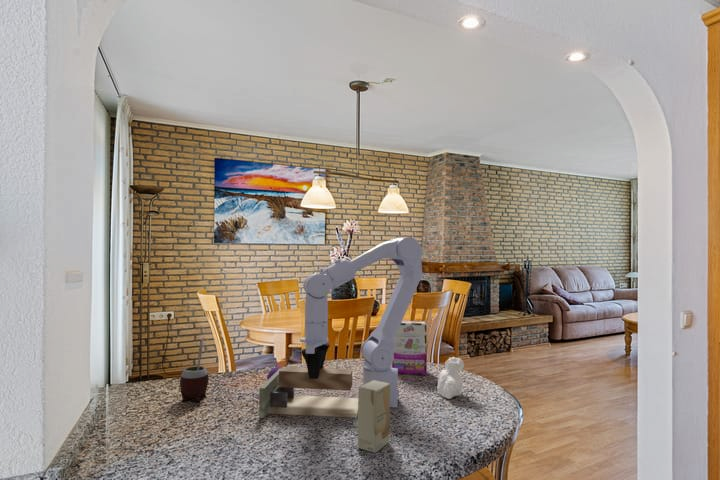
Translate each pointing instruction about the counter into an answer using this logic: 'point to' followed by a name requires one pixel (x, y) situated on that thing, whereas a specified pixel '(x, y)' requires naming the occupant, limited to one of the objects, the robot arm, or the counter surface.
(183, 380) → the mate gourd
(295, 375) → the rail
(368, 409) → the skincare box
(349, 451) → the counter surface
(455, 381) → the bust
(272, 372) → the kendama
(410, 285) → the robot arm
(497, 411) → the counter surface
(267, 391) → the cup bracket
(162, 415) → the counter surface
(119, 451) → the counter surface
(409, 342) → the candy bar box
